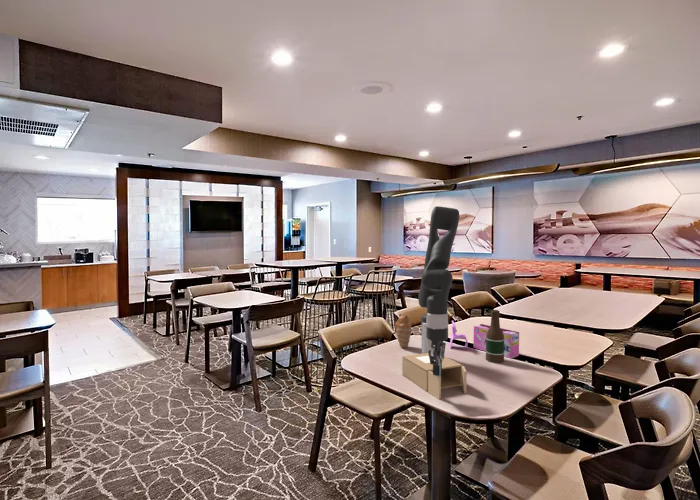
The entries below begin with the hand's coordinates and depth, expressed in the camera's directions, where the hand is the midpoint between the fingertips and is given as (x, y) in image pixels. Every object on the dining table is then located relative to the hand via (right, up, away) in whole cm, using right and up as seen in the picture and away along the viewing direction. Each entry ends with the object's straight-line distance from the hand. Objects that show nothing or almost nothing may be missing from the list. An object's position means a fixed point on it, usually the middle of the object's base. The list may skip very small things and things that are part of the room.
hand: (437, 373), depth 132 cm
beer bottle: (+36, -8, +39) cm, 53 cm away
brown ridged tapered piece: (-3, -7, +60) cm, 61 cm away
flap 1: (-1, -9, +2) cm, 9 cm away
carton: (+1, -8, +17) cm, 19 cm away
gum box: (+40, -8, +52) cm, 66 cm away
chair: (+24, -7, +58) cm, 64 cm away
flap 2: (+12, -8, +7) cm, 16 cm away
